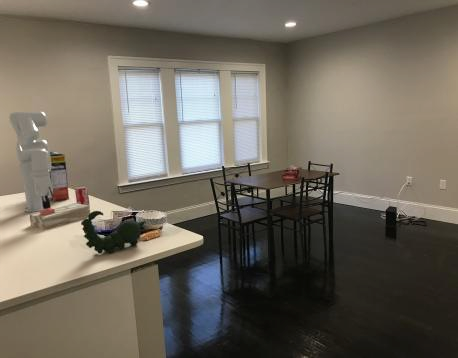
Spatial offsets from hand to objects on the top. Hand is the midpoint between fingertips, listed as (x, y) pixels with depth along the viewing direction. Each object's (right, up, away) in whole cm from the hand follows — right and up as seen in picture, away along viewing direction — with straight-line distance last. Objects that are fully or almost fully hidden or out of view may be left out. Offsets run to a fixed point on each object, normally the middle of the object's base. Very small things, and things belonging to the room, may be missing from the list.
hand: (46, 208), depth 192 cm
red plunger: (0, -5, +1) cm, 5 cm away
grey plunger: (+8, -4, +13) cm, 16 cm away
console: (+4, -7, +7) cm, 11 cm away
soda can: (+6, -3, +32) cm, 33 cm away
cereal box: (-26, +2, +69) cm, 74 cm away
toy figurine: (+50, -14, -41) cm, 66 cm away
